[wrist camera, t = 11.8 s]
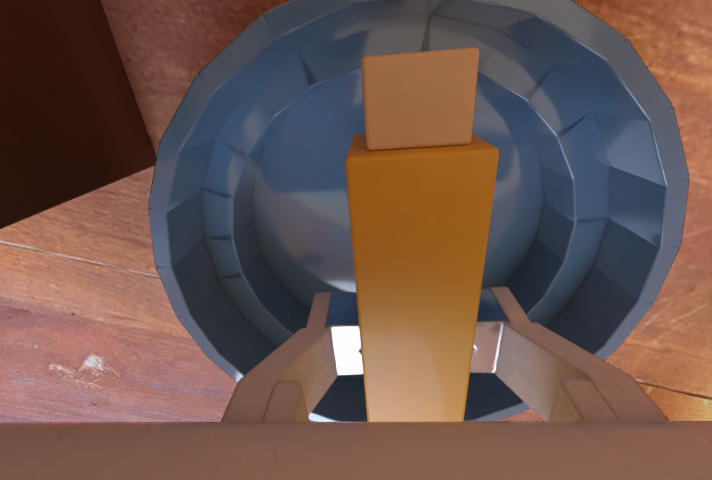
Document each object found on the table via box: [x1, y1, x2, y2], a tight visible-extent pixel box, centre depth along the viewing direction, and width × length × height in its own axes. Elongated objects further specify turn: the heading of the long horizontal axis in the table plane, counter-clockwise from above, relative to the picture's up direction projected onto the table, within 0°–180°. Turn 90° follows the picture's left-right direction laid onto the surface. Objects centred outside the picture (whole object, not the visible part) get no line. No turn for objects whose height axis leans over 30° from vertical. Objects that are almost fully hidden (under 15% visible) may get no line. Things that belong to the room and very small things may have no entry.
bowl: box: [148, 0, 689, 422], centre depth 13 cm, size 17×17×6 cm
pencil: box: [345, 47, 499, 422], centre depth 9 cm, size 14×3×3 cm, turn 4°
